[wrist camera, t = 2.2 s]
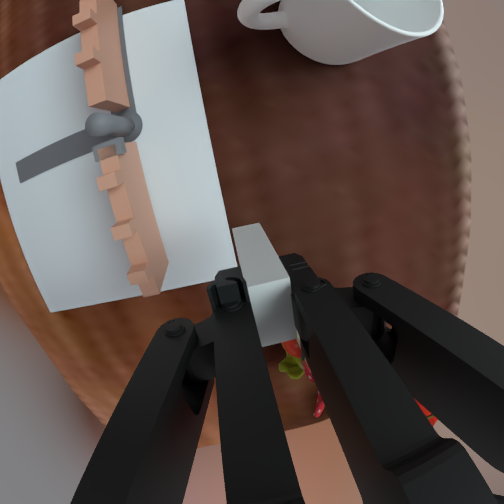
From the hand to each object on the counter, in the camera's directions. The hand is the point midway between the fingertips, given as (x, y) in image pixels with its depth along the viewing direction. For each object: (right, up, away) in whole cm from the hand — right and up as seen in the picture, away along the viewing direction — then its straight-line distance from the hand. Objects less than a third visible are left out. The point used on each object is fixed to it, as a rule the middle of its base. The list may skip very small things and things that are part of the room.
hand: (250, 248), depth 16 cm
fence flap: (-8, +3, +5) cm, 10 cm away
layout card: (-13, +7, +4) cm, 15 cm away
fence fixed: (-10, +14, +1) cm, 18 cm away
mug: (+4, +18, +2) cm, 19 cm away
